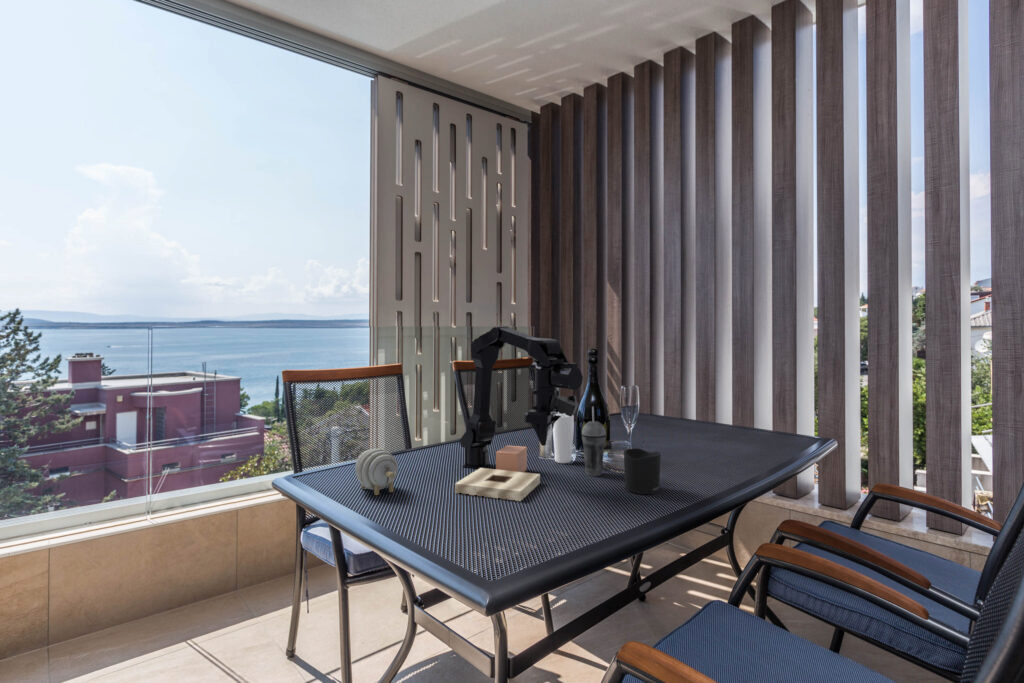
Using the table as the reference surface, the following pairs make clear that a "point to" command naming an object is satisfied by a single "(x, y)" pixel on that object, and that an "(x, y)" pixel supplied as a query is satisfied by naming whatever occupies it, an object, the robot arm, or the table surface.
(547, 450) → the steel pin
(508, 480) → the pin board
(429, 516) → the table surface
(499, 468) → the block
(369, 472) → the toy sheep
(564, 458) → the drinking glass
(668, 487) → the table surface
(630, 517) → the table surface
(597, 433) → the beverage cup
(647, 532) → the table surface
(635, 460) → the pen holder
